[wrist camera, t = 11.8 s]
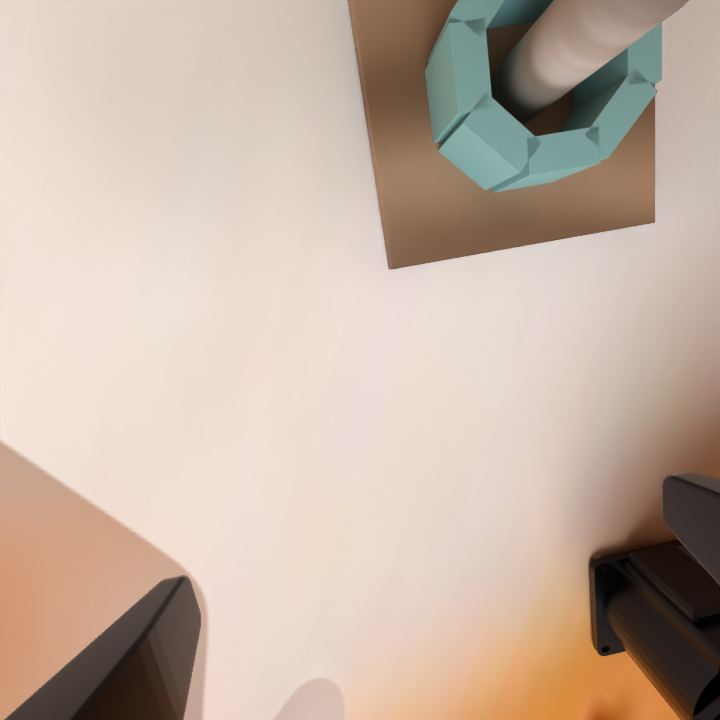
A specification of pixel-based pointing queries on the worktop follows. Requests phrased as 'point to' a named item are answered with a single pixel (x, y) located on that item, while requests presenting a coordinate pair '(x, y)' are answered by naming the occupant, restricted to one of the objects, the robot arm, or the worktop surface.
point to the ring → (506, 134)
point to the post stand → (523, 101)
